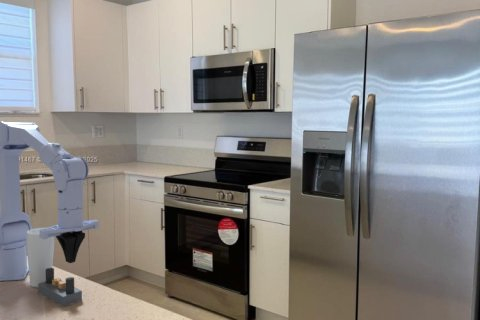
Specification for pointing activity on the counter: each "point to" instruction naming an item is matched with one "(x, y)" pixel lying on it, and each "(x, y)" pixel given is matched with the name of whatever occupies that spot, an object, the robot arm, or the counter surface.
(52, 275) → the cord plug back
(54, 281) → the tan wooden dumbbell piece
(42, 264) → the drinking glass
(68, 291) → the cord plug front
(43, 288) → the grey base plate
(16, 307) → the counter surface
